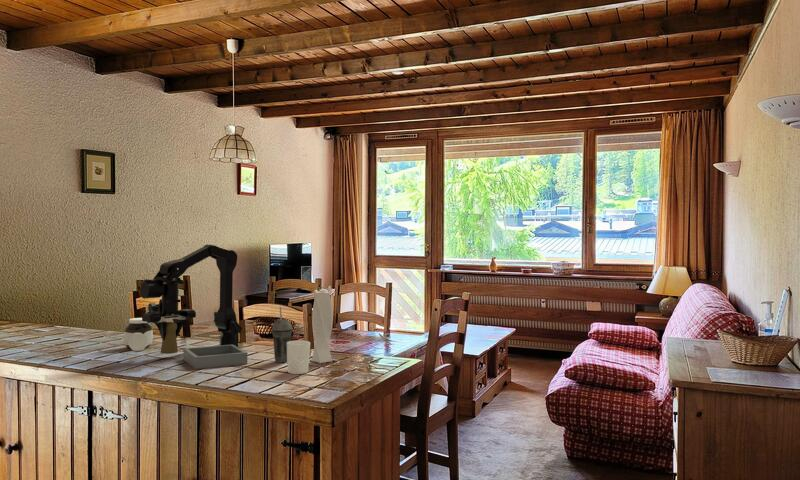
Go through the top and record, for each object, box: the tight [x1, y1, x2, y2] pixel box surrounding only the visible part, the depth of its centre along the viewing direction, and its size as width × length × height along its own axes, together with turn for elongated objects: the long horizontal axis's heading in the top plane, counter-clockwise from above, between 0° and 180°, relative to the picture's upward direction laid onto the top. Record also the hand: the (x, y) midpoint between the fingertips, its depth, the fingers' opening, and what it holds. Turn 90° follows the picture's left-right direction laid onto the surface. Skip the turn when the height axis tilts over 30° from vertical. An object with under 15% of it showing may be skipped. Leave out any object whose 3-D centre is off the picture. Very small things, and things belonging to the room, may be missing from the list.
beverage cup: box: [271, 306, 293, 364], centre depth 210 cm, size 7×7×20 cm
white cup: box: [286, 339, 311, 375], centre depth 194 cm, size 8×8×10 cm
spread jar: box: [123, 317, 154, 352], centre depth 229 cm, size 12×11×12 cm
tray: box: [183, 345, 248, 370], centre depth 208 cm, size 18×18×4 cm
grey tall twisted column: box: [309, 285, 334, 365], centre depth 211 cm, size 8×8×28 cm
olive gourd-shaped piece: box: [160, 321, 179, 355], centre depth 213 cm, size 6×6×11 cm
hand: (169, 338), depth 213 cm, fingers closed on olive gourd-shaped piece, 4 cm apart
